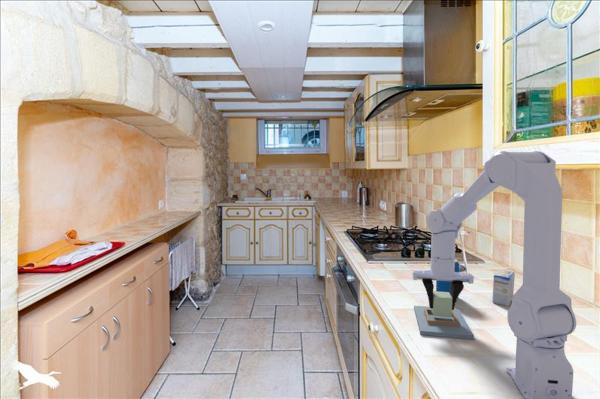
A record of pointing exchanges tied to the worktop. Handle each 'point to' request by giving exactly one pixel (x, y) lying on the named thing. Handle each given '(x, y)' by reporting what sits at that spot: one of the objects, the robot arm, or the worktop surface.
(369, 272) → the worktop surface
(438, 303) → the sage block
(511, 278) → the medicine box
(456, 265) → the beverage can
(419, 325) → the board
